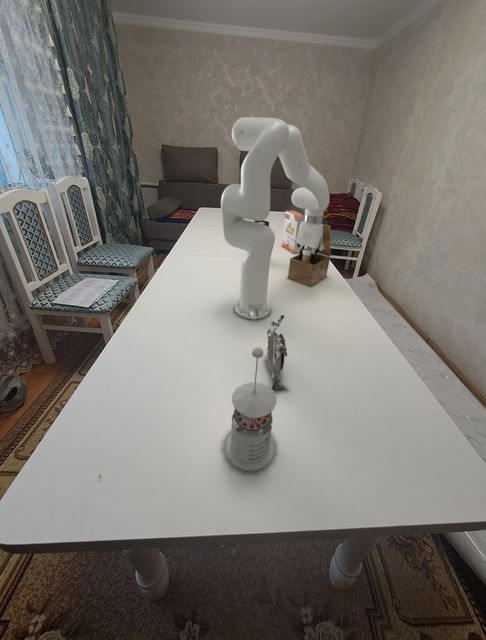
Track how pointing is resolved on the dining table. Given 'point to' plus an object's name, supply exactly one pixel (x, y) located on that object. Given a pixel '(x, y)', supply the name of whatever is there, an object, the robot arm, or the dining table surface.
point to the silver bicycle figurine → (276, 353)
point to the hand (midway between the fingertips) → (306, 260)
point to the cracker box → (291, 230)
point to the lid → (325, 240)
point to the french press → (252, 424)
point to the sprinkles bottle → (306, 255)
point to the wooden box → (308, 269)
